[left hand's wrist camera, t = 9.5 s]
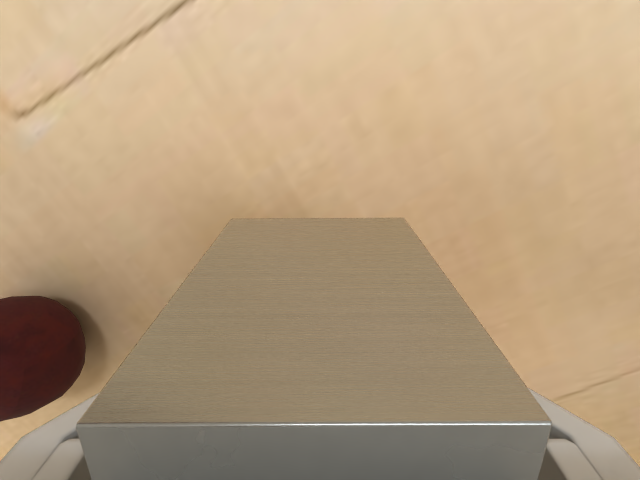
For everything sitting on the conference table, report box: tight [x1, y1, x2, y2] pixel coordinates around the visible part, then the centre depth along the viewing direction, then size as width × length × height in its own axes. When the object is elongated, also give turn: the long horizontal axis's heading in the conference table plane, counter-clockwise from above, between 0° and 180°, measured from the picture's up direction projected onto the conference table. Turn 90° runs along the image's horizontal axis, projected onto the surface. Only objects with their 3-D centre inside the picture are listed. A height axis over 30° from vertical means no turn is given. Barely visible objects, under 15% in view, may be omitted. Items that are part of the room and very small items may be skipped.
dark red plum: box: [0, 296, 86, 421], centre depth 23 cm, size 7×8×7 cm
